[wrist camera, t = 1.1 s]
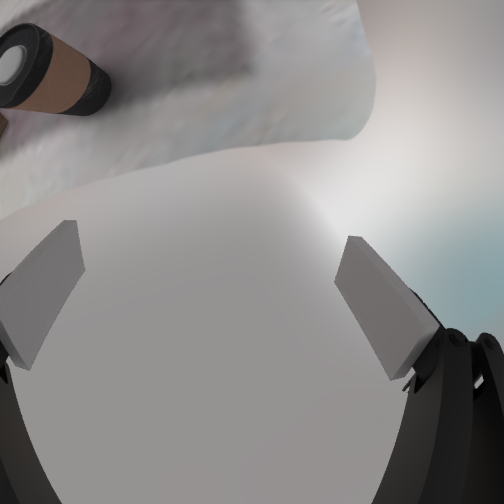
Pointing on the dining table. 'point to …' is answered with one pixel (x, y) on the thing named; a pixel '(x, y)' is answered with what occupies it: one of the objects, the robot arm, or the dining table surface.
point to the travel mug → (48, 74)
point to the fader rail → (2, 123)
